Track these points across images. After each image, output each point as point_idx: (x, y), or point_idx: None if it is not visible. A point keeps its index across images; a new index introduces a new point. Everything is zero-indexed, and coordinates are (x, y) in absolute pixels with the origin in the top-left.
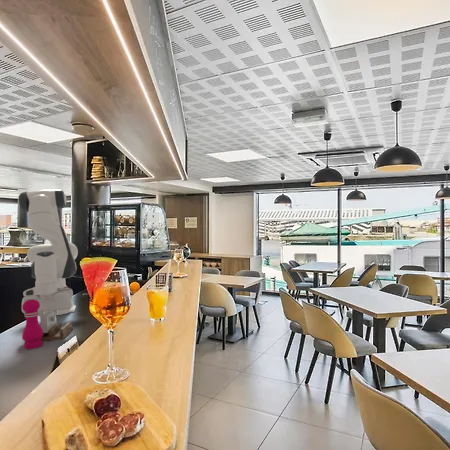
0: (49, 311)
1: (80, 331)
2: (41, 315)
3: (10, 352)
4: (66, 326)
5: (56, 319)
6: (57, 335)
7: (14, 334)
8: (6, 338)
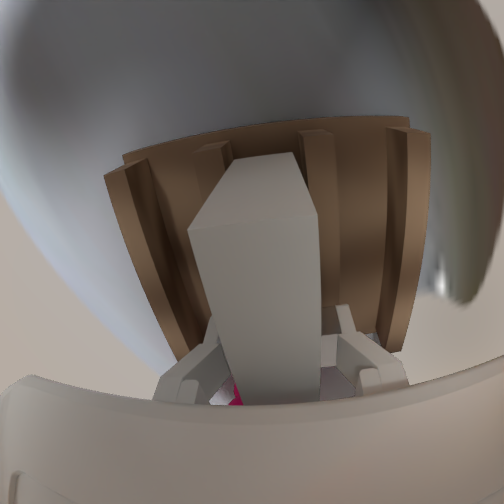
0: (258, 357)
1: (460, 197)
2: (209, 394)
3: (213, 403)
4: (416, 280)
5: (296, 163)
6: (358, 317)
7: (21, 171)
8: (36, 236)
